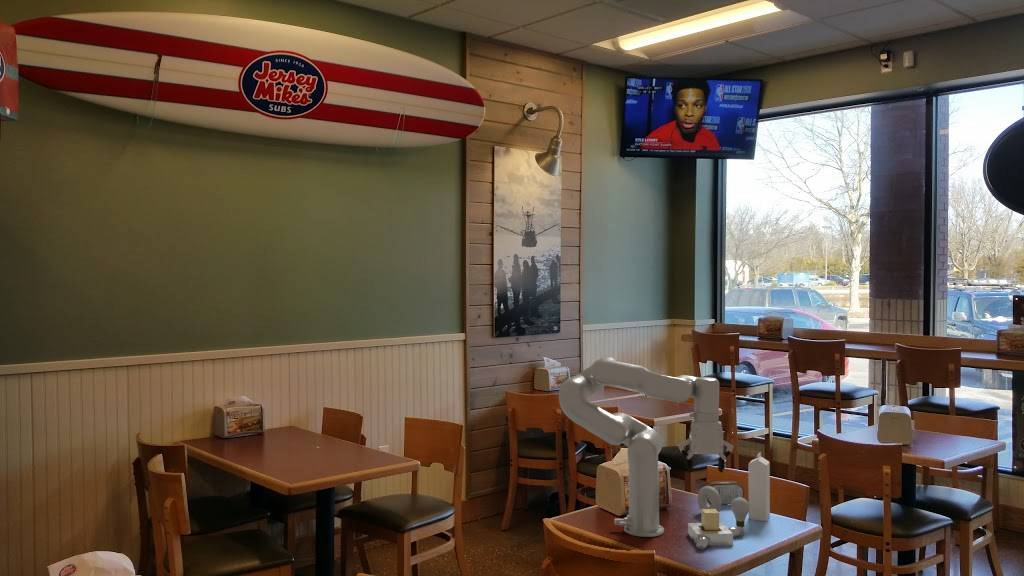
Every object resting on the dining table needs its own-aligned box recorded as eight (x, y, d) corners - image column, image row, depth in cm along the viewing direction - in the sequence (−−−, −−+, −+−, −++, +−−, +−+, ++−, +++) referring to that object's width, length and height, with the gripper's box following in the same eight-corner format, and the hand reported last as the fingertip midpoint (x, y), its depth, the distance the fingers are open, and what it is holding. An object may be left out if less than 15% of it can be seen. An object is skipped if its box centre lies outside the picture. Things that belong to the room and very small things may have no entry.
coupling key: (705, 542, 246) (705, 513, 245) (701, 537, 250) (701, 509, 250) (719, 541, 246) (719, 512, 246) (715, 537, 250) (715, 508, 250)
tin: (741, 502, 290) (741, 479, 290) (745, 505, 287) (745, 481, 287) (702, 504, 288) (702, 481, 288) (705, 506, 285) (705, 483, 285)
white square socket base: (697, 545, 242) (697, 534, 242) (688, 534, 253) (688, 523, 253) (733, 545, 242) (733, 533, 242) (722, 533, 253) (722, 522, 253)
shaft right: (726, 539, 248) (726, 529, 248) (721, 536, 251) (721, 527, 251) (743, 537, 250) (743, 528, 249) (738, 534, 252) (738, 525, 252)
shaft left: (701, 543, 244) (701, 533, 244) (710, 544, 243) (710, 535, 243) (695, 549, 239) (695, 539, 239) (705, 550, 237) (705, 540, 237)
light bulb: (750, 531, 256) (750, 500, 256) (731, 530, 257) (731, 499, 257) (748, 526, 261) (748, 495, 261) (730, 525, 263) (730, 494, 263)
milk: (748, 519, 269) (747, 454, 269) (752, 514, 275) (751, 451, 274) (767, 521, 266) (766, 456, 266) (770, 516, 272) (769, 452, 272)
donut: (723, 518, 271) (723, 488, 271) (716, 519, 269) (716, 490, 269) (702, 511, 279) (702, 482, 279) (695, 512, 277) (695, 483, 277)
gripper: (681, 418, 246) (680, 473, 246) (737, 419, 246) (735, 474, 246) (676, 414, 254) (675, 468, 254) (730, 415, 253) (729, 469, 254)
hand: (705, 471), depth 250 cm, fingers open, 9 cm apart
